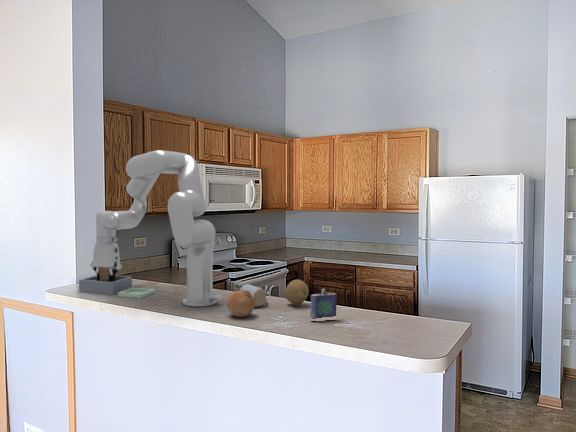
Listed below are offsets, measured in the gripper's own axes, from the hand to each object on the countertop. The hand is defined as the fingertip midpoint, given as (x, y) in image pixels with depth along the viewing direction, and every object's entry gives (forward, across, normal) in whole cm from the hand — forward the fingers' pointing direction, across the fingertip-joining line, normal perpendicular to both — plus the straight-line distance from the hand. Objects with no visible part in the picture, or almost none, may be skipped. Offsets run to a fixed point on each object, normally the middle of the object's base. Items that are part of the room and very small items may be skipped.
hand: (106, 283), depth 191 cm
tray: (+3, -17, +4) cm, 18 cm away
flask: (+3, -95, +15) cm, 96 cm away
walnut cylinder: (+3, 0, 0) cm, 3 cm away
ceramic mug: (+3, -67, +3) cm, 67 cm away
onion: (+3, -67, +19) cm, 70 cm away
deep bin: (+3, 0, 0) cm, 3 cm away
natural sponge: (+3, -82, -1) cm, 82 cm away
